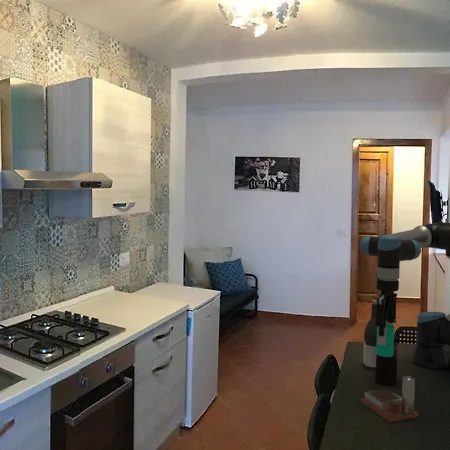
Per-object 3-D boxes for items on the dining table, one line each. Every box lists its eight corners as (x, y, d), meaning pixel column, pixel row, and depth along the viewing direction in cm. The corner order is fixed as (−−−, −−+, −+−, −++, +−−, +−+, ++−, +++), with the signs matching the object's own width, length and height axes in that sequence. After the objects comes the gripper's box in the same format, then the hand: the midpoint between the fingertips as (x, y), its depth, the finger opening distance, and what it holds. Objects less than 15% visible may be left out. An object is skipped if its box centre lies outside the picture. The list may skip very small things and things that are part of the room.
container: (398, 387, 191) (400, 338, 189) (375, 385, 193) (376, 336, 191) (395, 378, 199) (397, 331, 198) (373, 376, 201) (374, 330, 199)
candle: (372, 352, 175) (373, 320, 174) (384, 350, 177) (385, 318, 177) (385, 357, 169) (386, 324, 168) (397, 355, 172) (398, 322, 171)
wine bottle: (381, 371, 206) (384, 303, 204) (362, 369, 209) (364, 301, 207) (382, 365, 214) (384, 299, 212) (363, 363, 217) (365, 297, 214)
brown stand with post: (387, 397, 181) (389, 362, 180) (418, 416, 166) (419, 379, 165) (361, 402, 177) (362, 366, 176) (389, 422, 162) (391, 383, 161)
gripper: (387, 274, 181) (384, 334, 183) (367, 281, 166) (364, 346, 168) (407, 276, 176) (404, 338, 178) (388, 284, 162) (385, 351, 163)
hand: (385, 342), depth 173 cm, fingers closed on candle, 6 cm apart
